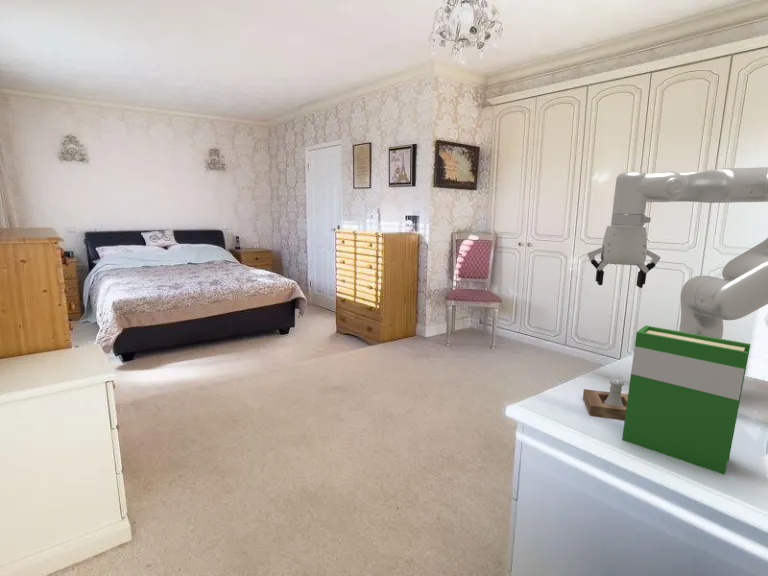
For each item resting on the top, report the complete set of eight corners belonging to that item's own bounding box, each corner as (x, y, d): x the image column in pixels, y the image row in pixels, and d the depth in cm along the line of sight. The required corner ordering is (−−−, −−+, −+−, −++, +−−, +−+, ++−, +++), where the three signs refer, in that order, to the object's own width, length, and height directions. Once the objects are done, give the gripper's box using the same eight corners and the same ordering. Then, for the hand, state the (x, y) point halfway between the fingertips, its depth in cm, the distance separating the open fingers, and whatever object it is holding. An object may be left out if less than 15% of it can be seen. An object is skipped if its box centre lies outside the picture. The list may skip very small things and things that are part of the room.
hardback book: (729, 458, 88) (750, 344, 84) (724, 474, 83) (747, 353, 78) (631, 427, 100) (645, 325, 95) (622, 440, 94) (636, 332, 90)
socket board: (651, 406, 110) (652, 397, 110) (665, 425, 101) (666, 415, 101) (582, 398, 115) (583, 389, 114) (589, 415, 105) (590, 405, 105)
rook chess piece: (625, 414, 106) (630, 383, 104) (606, 412, 107) (610, 381, 105) (619, 406, 110) (623, 376, 109) (600, 404, 111) (604, 374, 109)
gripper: (659, 221, 116) (651, 285, 119) (588, 219, 121) (582, 281, 124) (669, 222, 109) (660, 290, 112) (594, 220, 113) (586, 285, 117)
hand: (619, 285), depth 118 cm, fingers open, 9 cm apart
